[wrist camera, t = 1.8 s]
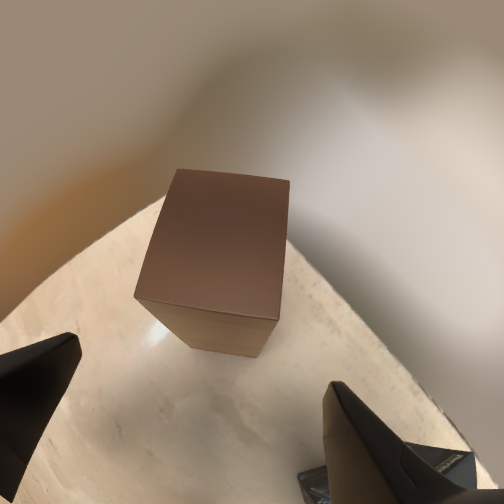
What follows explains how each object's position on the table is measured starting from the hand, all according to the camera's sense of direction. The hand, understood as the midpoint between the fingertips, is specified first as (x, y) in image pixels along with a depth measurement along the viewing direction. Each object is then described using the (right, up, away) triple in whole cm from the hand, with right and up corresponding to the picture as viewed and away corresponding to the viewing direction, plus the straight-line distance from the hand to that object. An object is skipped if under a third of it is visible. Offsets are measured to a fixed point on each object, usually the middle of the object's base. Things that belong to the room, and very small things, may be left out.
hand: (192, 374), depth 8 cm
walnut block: (0, -1, +13) cm, 13 cm away
